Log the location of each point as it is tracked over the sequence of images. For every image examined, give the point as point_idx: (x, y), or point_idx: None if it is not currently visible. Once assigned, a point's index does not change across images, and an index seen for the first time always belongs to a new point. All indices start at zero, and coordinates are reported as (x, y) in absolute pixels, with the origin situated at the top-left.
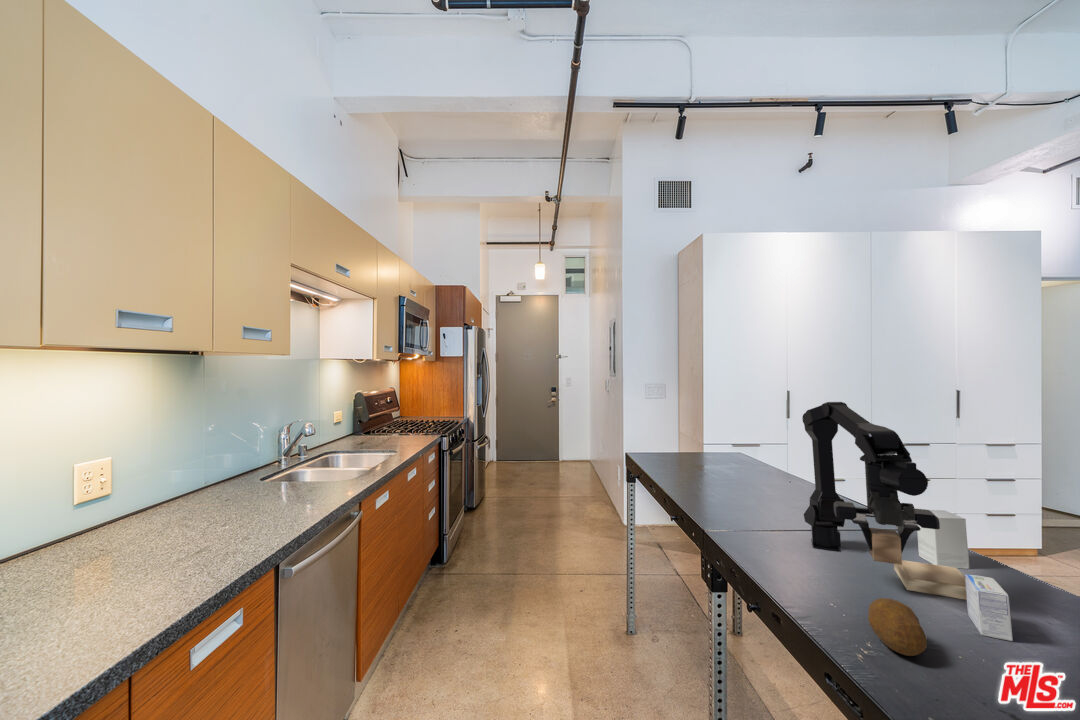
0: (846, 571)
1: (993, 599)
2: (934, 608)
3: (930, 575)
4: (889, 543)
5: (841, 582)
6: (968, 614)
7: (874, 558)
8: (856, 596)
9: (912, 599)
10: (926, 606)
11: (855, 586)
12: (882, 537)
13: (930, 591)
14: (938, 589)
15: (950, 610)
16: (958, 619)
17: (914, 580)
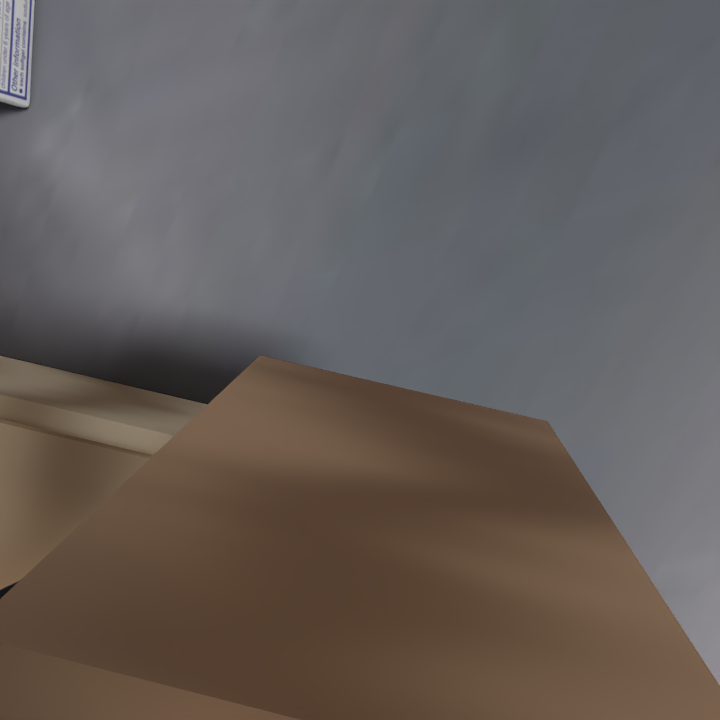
0: None
1: None
2: (196, 170)
3: (54, 524)
4: (339, 548)
5: (657, 451)
6: (23, 89)
7: (552, 434)
8: (668, 235)
9: (282, 280)
10: (235, 189)
11: (585, 405)
12: (499, 703)
13: (132, 394)
14: (77, 390)
15: (110, 166)
16: (109, 28)
17: None
